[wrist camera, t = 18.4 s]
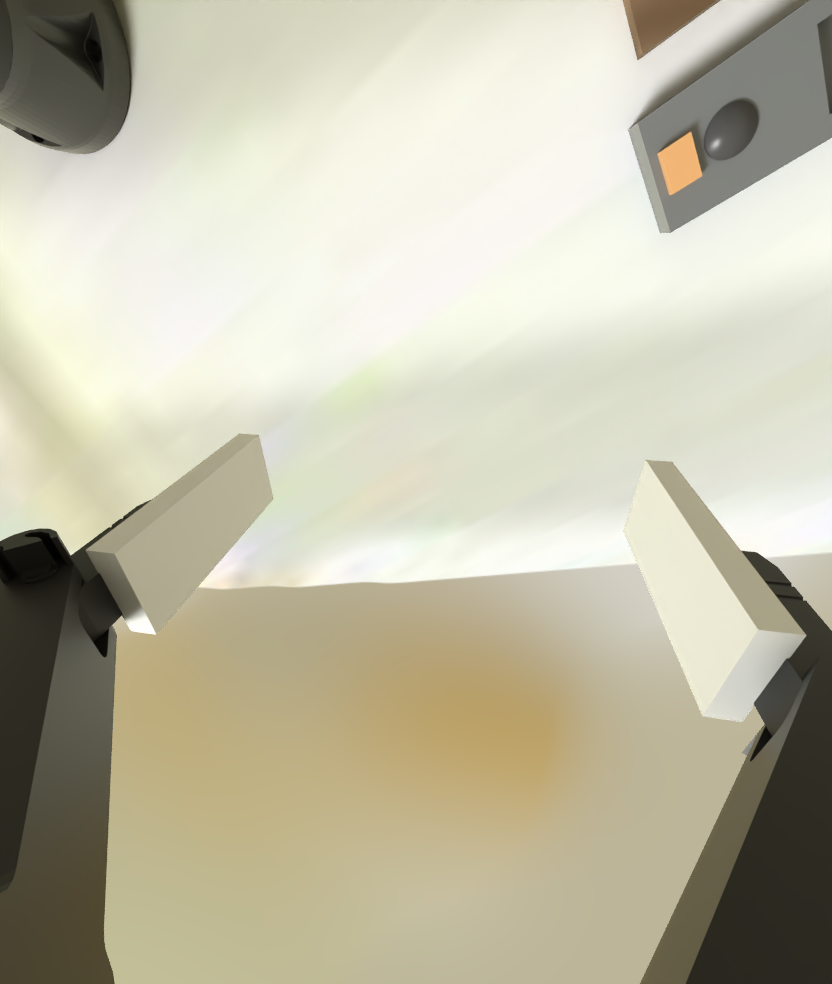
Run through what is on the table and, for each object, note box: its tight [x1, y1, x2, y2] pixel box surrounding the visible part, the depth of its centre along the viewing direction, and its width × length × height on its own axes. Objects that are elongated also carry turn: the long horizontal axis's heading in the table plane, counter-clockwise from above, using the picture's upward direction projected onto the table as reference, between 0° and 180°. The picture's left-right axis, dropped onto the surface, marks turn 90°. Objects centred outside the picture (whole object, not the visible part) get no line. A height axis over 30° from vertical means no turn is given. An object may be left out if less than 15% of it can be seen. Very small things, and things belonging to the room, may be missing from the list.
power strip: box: [628, 0, 832, 233], centre depth 28 cm, size 18×8×4 cm, turn 123°
